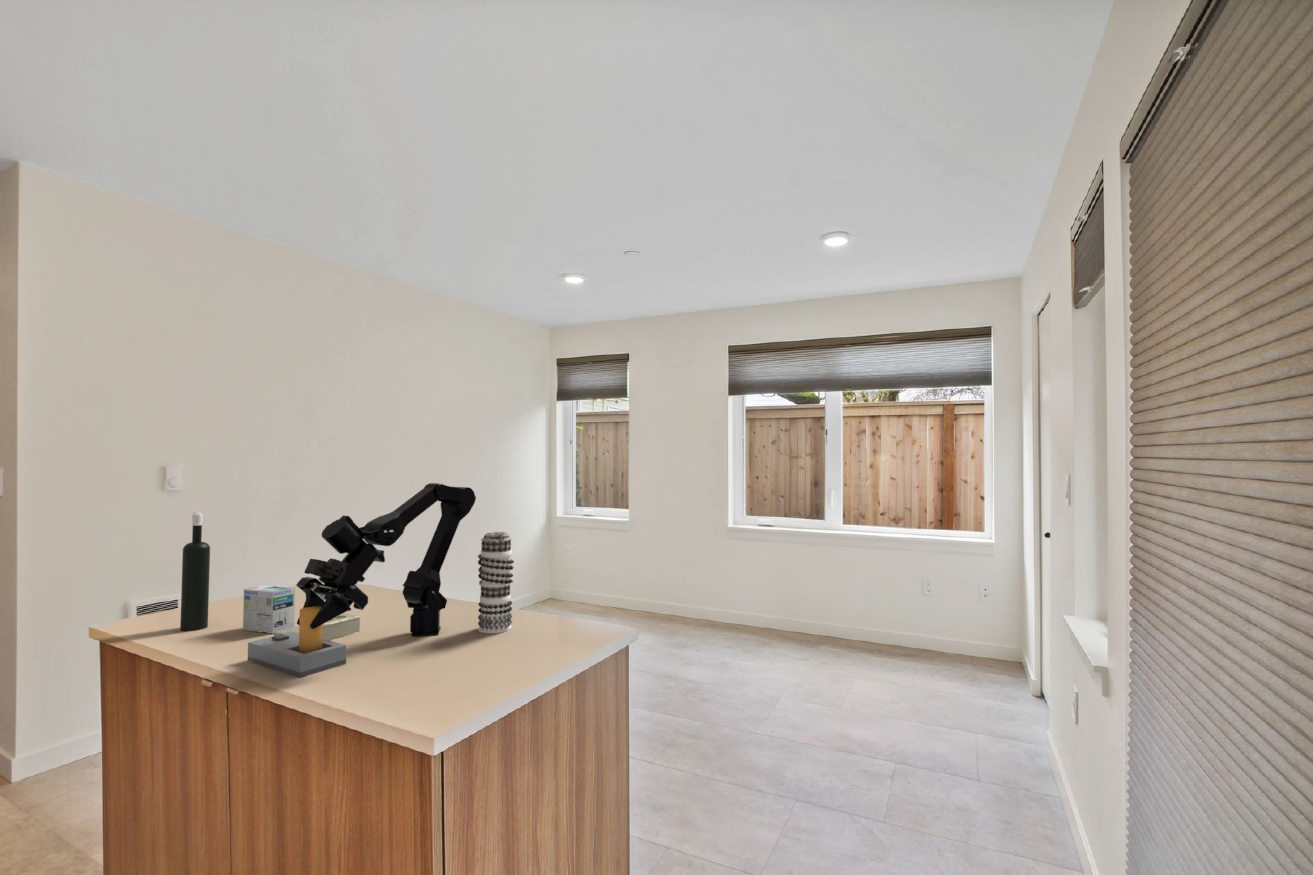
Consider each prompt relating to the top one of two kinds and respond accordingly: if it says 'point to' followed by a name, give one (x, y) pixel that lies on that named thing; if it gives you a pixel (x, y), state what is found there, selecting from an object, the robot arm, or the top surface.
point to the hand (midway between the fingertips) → (304, 626)
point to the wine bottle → (195, 579)
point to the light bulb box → (269, 608)
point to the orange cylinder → (309, 631)
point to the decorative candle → (495, 583)
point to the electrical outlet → (333, 627)
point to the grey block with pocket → (295, 655)
